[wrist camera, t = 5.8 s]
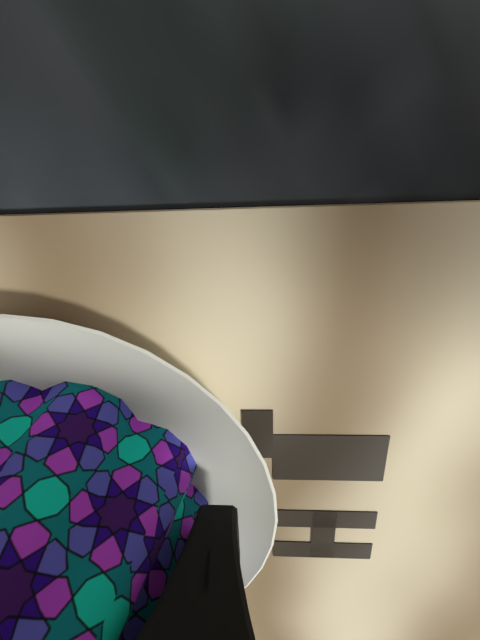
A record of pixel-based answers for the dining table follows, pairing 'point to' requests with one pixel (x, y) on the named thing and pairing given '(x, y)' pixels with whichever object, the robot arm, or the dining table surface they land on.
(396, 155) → the dining table surface
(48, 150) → the dining table surface
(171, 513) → the pudding
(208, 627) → the robot arm
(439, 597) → the board
